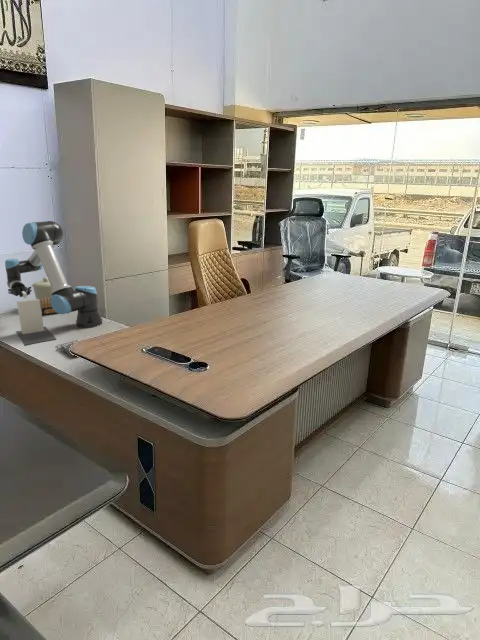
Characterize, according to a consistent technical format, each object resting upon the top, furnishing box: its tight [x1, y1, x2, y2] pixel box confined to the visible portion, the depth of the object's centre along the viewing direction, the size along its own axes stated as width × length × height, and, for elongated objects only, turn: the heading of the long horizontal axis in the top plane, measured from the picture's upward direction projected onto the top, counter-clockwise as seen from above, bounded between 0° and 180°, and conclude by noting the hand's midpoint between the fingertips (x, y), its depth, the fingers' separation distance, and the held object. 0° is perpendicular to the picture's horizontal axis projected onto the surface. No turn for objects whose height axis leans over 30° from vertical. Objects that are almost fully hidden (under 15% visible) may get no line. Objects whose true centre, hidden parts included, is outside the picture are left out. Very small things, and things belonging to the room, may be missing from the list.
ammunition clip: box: [41, 296, 60, 317], centre depth 282 cm, size 11×2×12 cm, turn 121°
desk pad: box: [15, 326, 57, 347], centre depth 243 cm, size 26×16×1 cm, turn 35°
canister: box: [31, 276, 53, 305], centre depth 296 cm, size 18×18×21 cm
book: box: [16, 298, 45, 334], centre depth 246 cm, size 4×11×18 cm, turn 125°
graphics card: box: [55, 339, 79, 357], centre depth 220 cm, size 17×4×12 cm
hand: (25, 295), depth 247 cm, fingers closed
